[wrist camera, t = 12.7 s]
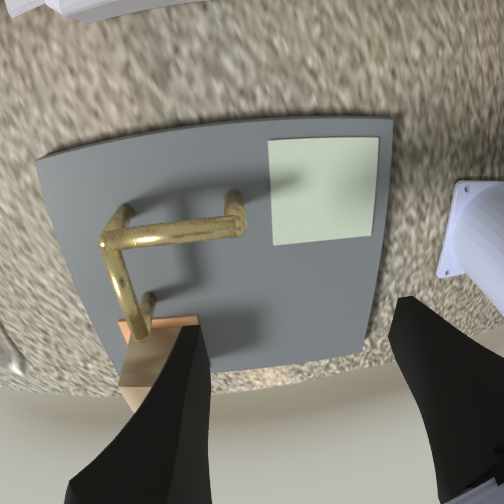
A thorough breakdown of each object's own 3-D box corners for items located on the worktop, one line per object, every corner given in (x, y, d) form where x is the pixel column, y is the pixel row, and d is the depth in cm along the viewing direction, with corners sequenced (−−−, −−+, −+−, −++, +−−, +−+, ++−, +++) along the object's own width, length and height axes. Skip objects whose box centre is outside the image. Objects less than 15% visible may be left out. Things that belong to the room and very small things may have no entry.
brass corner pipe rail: (241, 188, 17) (247, 219, 14) (251, 294, 20) (257, 337, 17) (115, 205, 17) (92, 237, 13) (144, 304, 20) (133, 346, 17)
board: (383, 116, 16) (394, 120, 15) (356, 342, 26) (362, 354, 24) (43, 155, 16) (32, 162, 14) (122, 365, 25) (119, 378, 24)
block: (187, 326, 21) (182, 386, 17) (197, 363, 23) (196, 419, 19) (131, 329, 21) (117, 386, 17) (147, 366, 23) (138, 420, 19)
